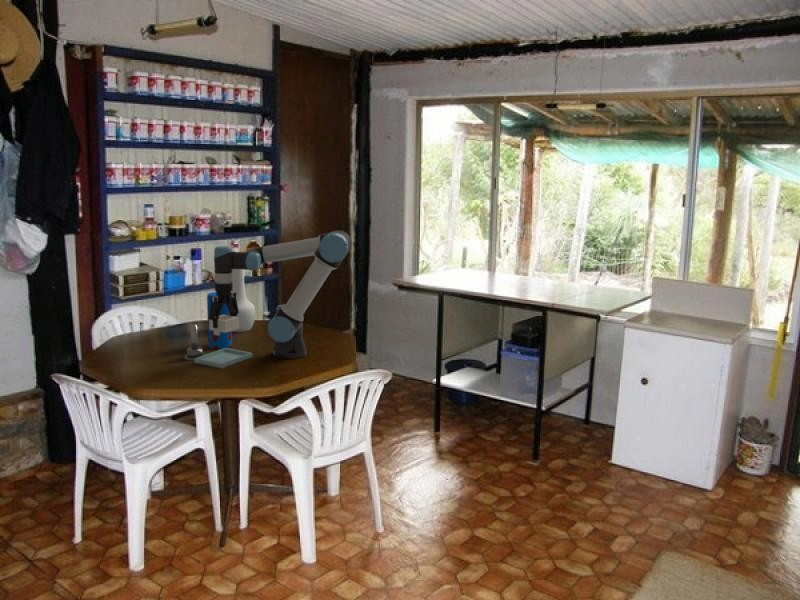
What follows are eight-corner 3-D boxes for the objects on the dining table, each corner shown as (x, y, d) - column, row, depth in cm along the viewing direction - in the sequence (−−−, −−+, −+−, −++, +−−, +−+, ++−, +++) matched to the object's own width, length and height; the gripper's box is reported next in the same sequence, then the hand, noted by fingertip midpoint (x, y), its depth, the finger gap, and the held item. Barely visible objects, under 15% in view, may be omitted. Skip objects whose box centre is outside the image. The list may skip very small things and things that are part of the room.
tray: (252, 357, 320) (252, 352, 320) (221, 368, 302) (221, 364, 302) (225, 352, 327) (225, 347, 326) (194, 362, 309) (194, 358, 309)
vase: (221, 326, 373) (220, 260, 366) (253, 325, 378) (252, 259, 371) (223, 334, 358) (222, 265, 351) (257, 332, 363) (256, 264, 356)
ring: (239, 328, 313) (239, 317, 312) (225, 332, 305) (225, 321, 304) (219, 325, 318) (219, 314, 317) (205, 329, 310) (205, 317, 309)
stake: (209, 356, 319) (208, 324, 316) (195, 361, 311) (194, 328, 308) (194, 353, 323) (193, 321, 320) (180, 358, 315) (178, 325, 312)
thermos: (225, 349, 331) (224, 297, 326) (204, 347, 333) (203, 295, 328) (235, 343, 341) (234, 292, 336) (215, 342, 343) (213, 291, 338)
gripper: (233, 277, 318) (234, 326, 323) (199, 284, 299) (200, 336, 304) (246, 279, 315) (247, 328, 319) (212, 286, 296) (213, 339, 300)
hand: (224, 332), depth 312 cm, fingers closed on ring, 9 cm apart
